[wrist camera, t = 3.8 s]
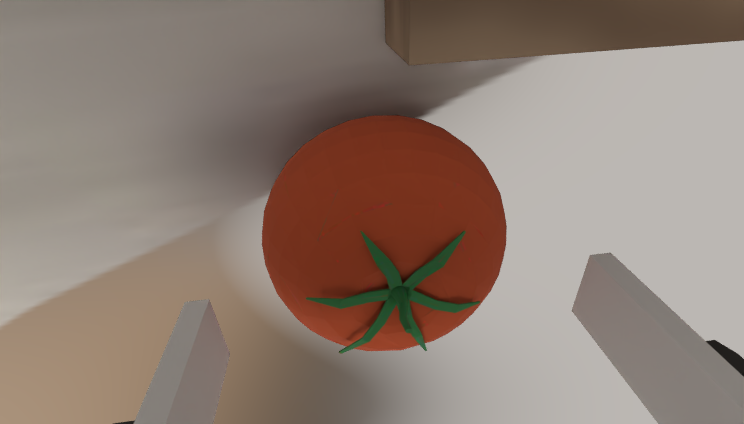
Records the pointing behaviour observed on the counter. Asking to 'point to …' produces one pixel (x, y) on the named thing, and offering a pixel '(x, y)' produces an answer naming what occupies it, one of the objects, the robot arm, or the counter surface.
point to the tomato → (384, 233)
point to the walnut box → (552, 26)
